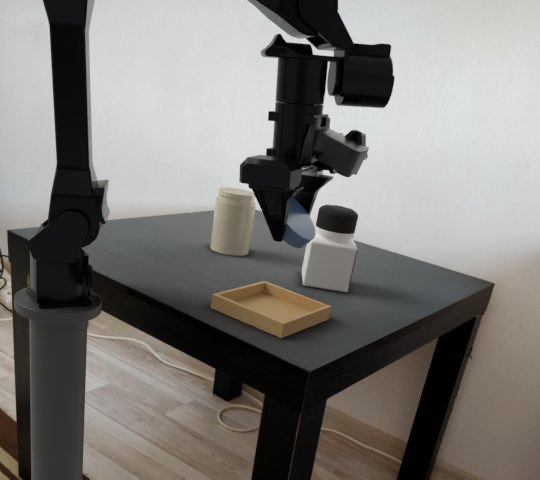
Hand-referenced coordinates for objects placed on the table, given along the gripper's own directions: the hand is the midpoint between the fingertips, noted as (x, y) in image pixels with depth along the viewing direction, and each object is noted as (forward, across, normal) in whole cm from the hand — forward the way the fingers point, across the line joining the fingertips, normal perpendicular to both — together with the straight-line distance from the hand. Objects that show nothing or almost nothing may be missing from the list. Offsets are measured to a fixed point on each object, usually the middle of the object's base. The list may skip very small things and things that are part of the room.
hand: (289, 235), depth 75 cm
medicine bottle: (+11, +16, 0) cm, 19 cm away
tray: (+10, -4, 0) cm, 10 cm away
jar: (+9, +19, +19) cm, 28 cm away
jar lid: (-2, 0, 0) cm, 2 cm away
